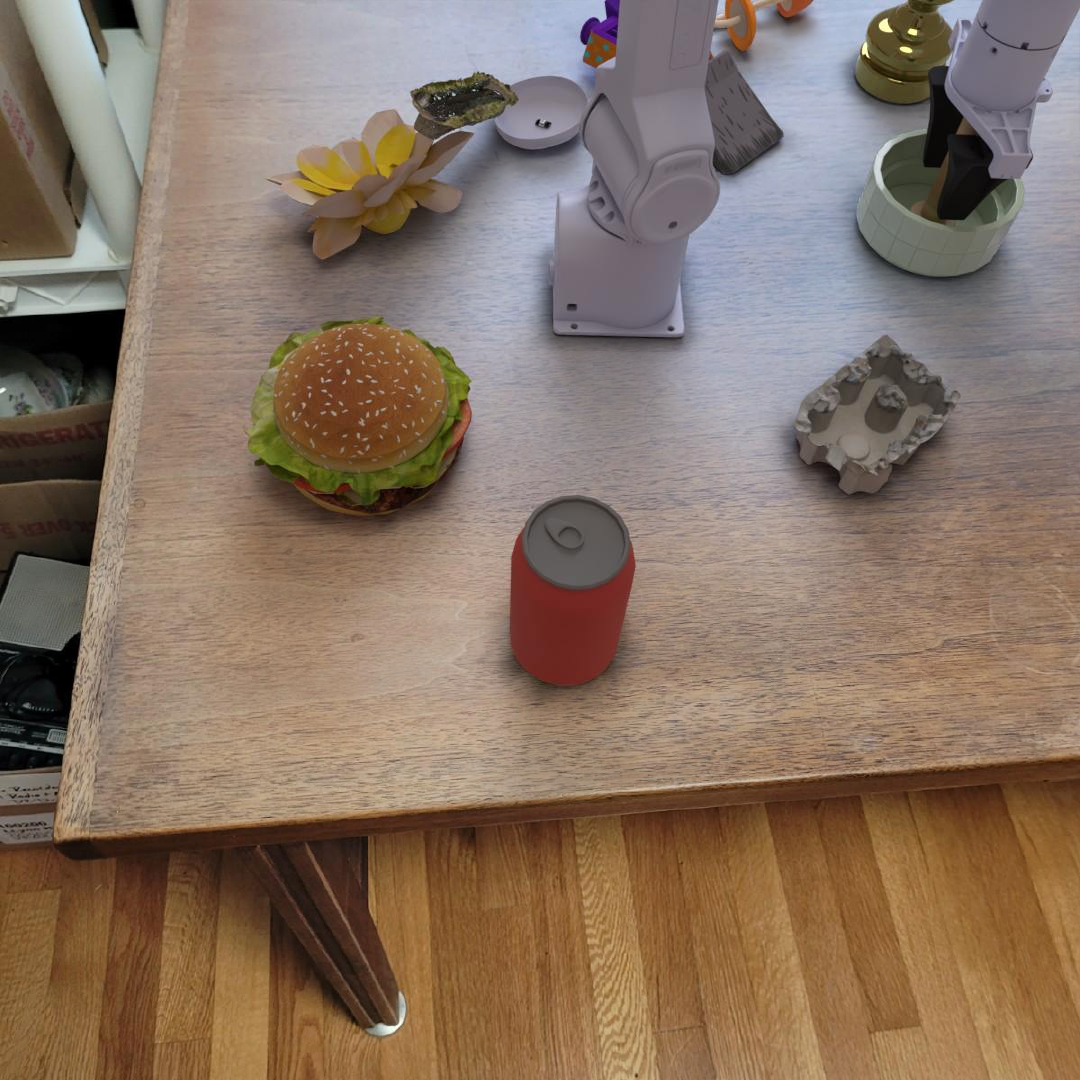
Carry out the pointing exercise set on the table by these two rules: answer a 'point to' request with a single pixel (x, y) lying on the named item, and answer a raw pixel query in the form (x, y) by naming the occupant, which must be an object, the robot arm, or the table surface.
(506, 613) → the table surface
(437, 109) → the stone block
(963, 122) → the wooden pestle
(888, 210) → the bowl
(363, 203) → the decorative flower
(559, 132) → the shallow white dish
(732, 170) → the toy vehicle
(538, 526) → the beer can
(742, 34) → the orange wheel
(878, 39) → the brass candlestick
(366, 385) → the food
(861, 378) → the egg carton
